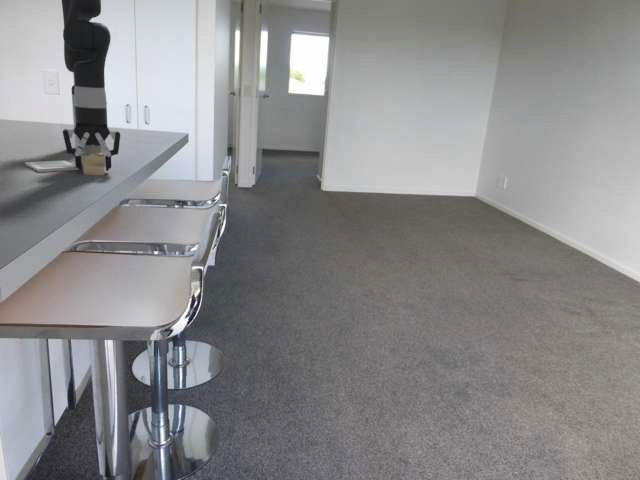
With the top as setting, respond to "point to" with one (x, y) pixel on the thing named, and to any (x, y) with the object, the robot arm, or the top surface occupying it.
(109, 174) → the top surface
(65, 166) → the reading tile
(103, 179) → the top surface
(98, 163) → the letter cube
